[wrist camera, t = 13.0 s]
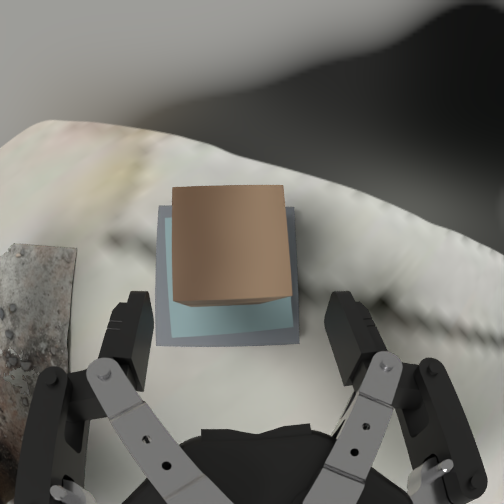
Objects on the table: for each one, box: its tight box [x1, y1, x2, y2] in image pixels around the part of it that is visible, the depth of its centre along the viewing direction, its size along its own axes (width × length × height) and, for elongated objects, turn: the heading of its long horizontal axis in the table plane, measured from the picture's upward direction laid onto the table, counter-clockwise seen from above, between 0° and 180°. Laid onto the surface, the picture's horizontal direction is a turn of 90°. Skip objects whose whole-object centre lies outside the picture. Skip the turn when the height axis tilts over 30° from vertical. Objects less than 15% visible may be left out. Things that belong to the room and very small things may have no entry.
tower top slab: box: [165, 217, 294, 338], centre depth 25 cm, size 9×9×3 cm
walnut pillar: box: [172, 185, 293, 307], centre depth 18 cm, size 5×5×10 cm
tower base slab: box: [155, 206, 299, 347], centre depth 28 cm, size 12×12×3 cm
